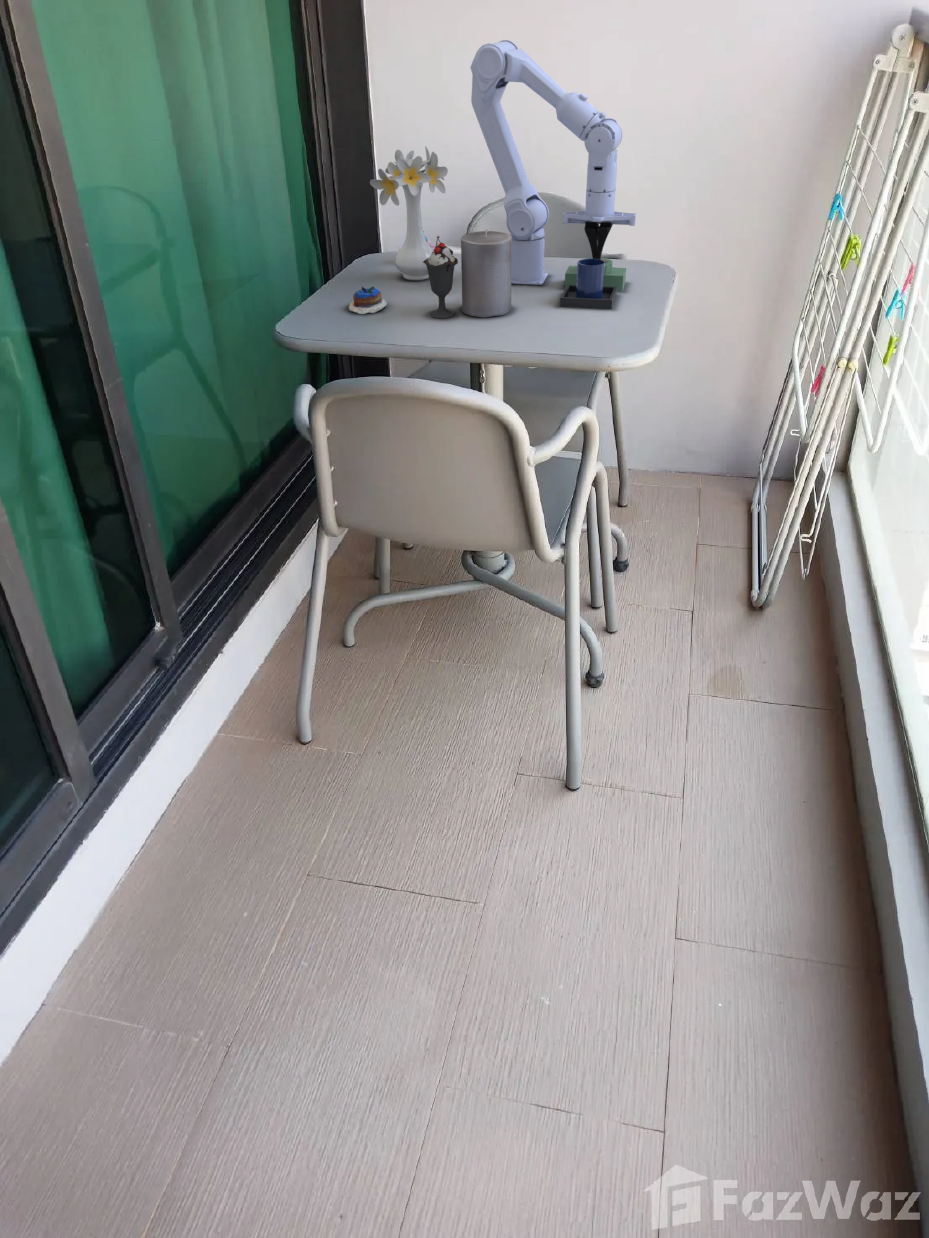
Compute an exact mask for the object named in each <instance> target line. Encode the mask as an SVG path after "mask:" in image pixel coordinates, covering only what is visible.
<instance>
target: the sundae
mask: <svg viewBox="0 0 929 1238" xmlns="http://www.w3.org/2000/svg"><path fill="white" fill-rule="evenodd" d="M437 243H438V246H437ZM435 244H436V247H435V248H434V250H433V252H432V254H431V256H430V257H429V258H427V259H426V260H425V261H423V263H425V264H426V266H427V270H428V275H429V278H428V283H429V285H430V290H431V291H432V293H433V294H435V295H436V296H437V298H438V307H437V309H436V310H433V311H431V312H430V313H429V316H430V318H431V317H432V318H435V319H449V318H452V317H454V316H455V315H456V312H455V311H453V310H451V309H447V306H446V296H448V295H449V294H450V293H451V291H452V290H453V283H454V271H455V267H456V266H457V265H458V263H459V259H458V258H456V257H455V256H454V251H453V250H452V249H451V248H449V247H448V246H447V245H446V243H445V242H441V240H440V236H439V235H438V236H437V237H436V243H435Z"/></svg>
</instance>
